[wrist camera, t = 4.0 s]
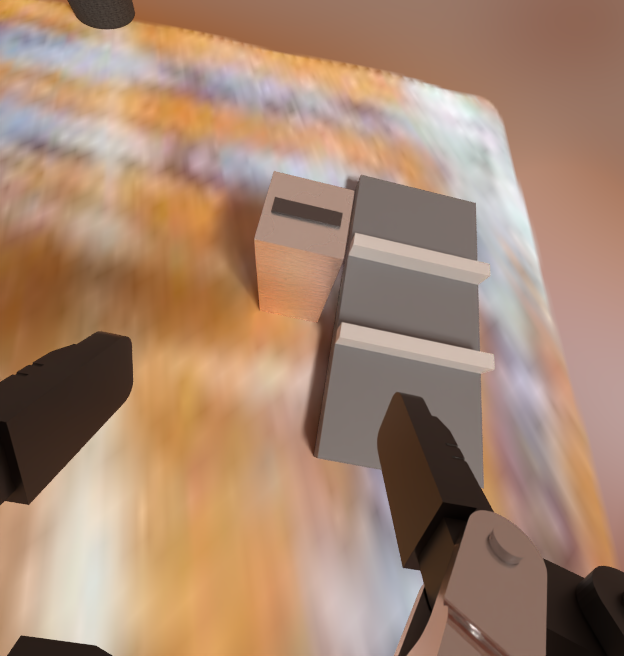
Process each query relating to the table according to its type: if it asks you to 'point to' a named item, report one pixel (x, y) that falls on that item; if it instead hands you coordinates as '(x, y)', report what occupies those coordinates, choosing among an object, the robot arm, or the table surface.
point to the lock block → (300, 245)
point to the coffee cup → (103, 12)
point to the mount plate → (405, 322)
